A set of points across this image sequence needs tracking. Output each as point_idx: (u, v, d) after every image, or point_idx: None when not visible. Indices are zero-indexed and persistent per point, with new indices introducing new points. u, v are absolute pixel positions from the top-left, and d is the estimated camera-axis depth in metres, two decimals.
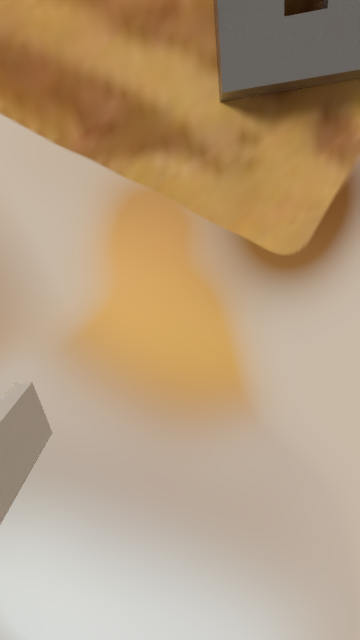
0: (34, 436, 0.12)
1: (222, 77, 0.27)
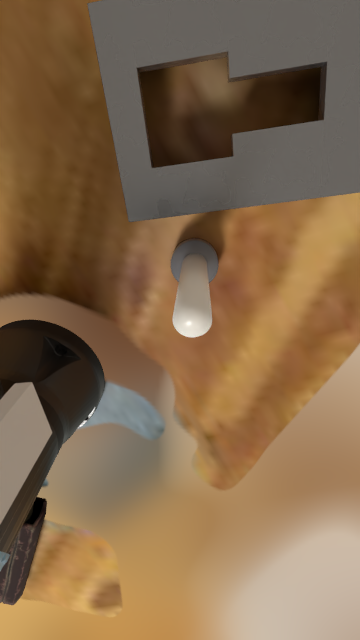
0: (34, 436, 0.12)
1: None
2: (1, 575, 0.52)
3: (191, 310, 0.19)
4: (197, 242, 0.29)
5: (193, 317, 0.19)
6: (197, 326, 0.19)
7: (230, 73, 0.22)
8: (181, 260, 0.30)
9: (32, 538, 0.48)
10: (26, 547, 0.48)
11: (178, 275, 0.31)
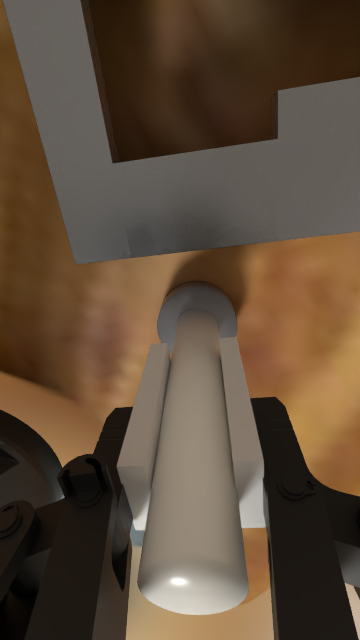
0: None
1: None
2: None
3: (190, 570, 0.06)
4: (202, 292, 0.17)
5: (195, 582, 0.07)
6: (206, 598, 0.07)
7: None
8: (175, 320, 0.18)
9: None
10: None
11: (170, 343, 0.18)
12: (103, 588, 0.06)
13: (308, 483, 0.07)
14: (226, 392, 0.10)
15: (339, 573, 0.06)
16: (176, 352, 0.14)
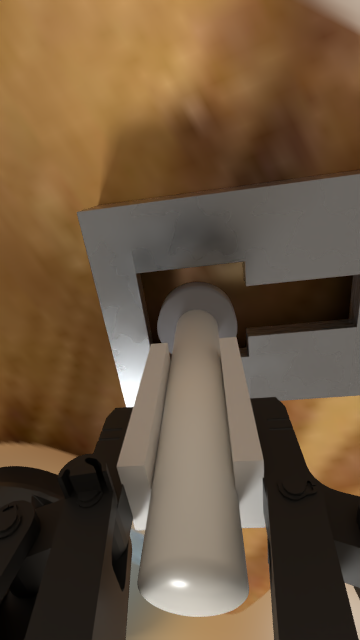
0: None
1: None
2: None
3: (190, 572, 0.06)
4: (202, 293, 0.17)
5: (195, 584, 0.07)
6: (206, 600, 0.07)
7: (247, 281, 0.18)
8: (175, 321, 0.18)
9: None
10: None
11: (170, 343, 0.18)
12: (103, 588, 0.06)
13: (308, 483, 0.07)
14: (226, 392, 0.10)
15: (339, 573, 0.06)
16: (176, 353, 0.14)
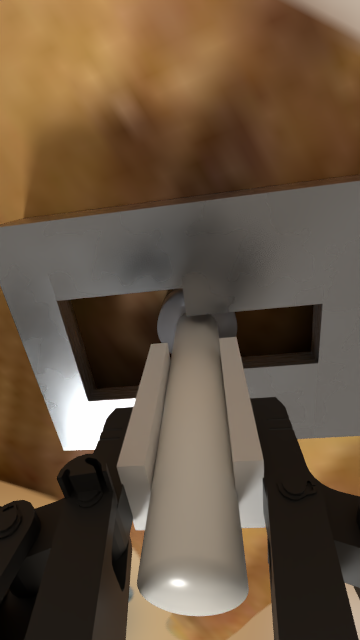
0: None
1: None
2: None
3: (189, 571, 0.06)
4: None
5: (195, 584, 0.07)
6: (205, 599, 0.07)
7: (187, 311, 0.16)
8: (175, 321, 0.18)
9: None
10: None
11: (170, 343, 0.18)
12: (103, 588, 0.06)
13: (308, 483, 0.07)
14: (226, 392, 0.10)
15: (339, 573, 0.06)
16: (176, 353, 0.14)
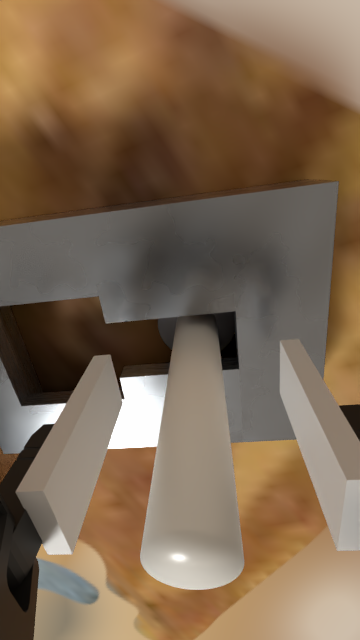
0: (113, 403, 0.14)
1: None
2: None
3: (189, 545, 0.07)
4: None
5: (194, 557, 0.07)
6: (204, 573, 0.07)
7: (106, 318, 0.16)
8: (175, 317, 0.18)
9: None
10: None
11: (170, 339, 0.19)
12: None
13: None
14: (309, 400, 0.10)
15: None
16: (176, 347, 0.14)
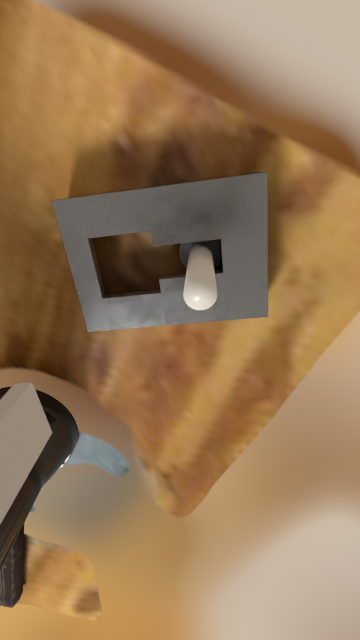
0: (34, 436, 0.12)
1: (257, 316, 0.33)
2: None
3: (199, 286, 0.22)
4: None
5: (201, 292, 0.22)
6: (204, 300, 0.22)
7: (154, 243, 0.31)
8: (188, 248, 0.33)
9: (13, 549, 0.56)
10: (10, 557, 0.57)
11: (185, 262, 0.34)
12: None
13: None
14: None
15: None
16: (191, 254, 0.29)
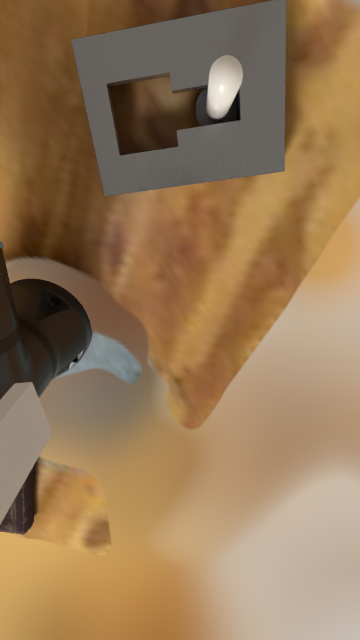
0: (34, 436, 0.12)
1: (273, 172, 0.34)
2: None
3: (225, 65, 0.22)
4: None
5: (227, 73, 0.22)
6: (229, 83, 0.22)
7: (172, 87, 0.31)
8: (205, 103, 0.33)
9: None
10: None
11: (202, 120, 0.34)
12: None
13: None
14: None
15: None
16: None
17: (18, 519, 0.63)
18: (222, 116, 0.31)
